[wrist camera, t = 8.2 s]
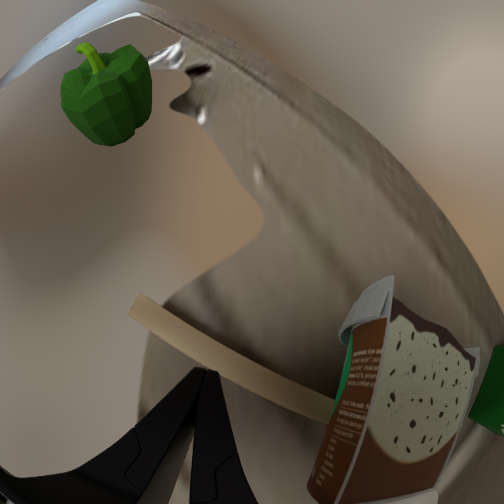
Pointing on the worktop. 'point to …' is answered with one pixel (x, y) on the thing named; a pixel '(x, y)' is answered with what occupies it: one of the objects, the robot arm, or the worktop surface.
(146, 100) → the bell pepper
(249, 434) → the worktop surface
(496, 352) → the milk carton
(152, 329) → the oak strip
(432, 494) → the white domed puck
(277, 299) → the worktop surface
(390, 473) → the food container
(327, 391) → the worktop surface
